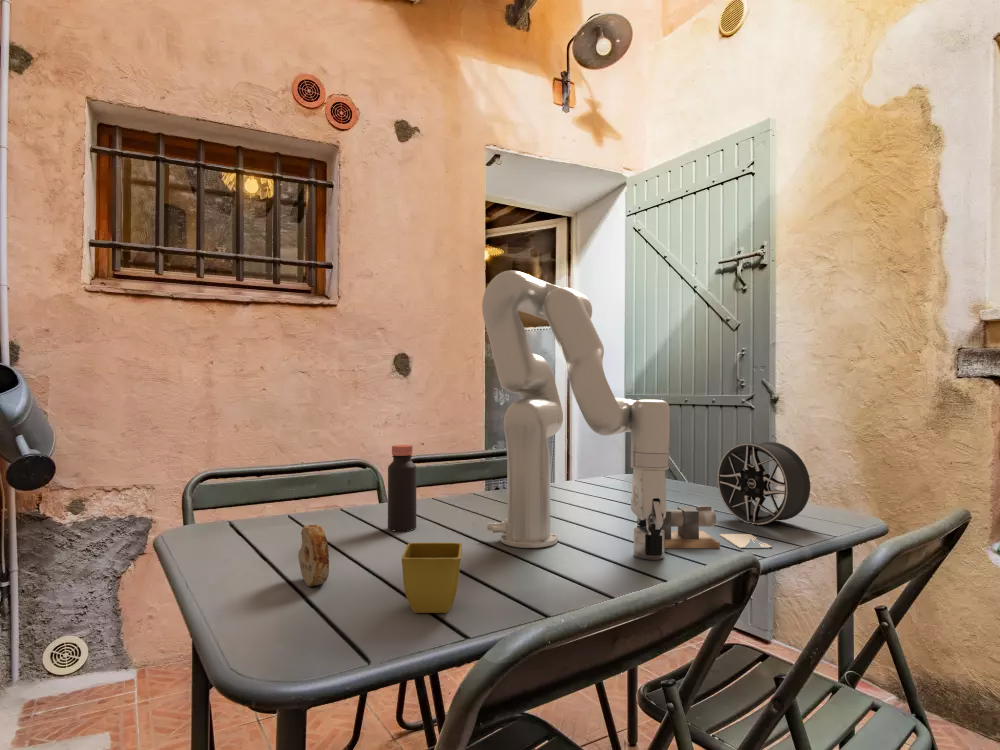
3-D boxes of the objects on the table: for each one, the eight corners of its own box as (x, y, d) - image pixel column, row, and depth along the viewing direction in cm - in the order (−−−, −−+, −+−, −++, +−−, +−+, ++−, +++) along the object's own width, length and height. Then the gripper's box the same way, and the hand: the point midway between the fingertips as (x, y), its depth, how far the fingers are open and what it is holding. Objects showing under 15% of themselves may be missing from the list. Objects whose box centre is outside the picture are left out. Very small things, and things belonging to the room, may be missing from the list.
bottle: (411, 532, 138) (411, 447, 138) (383, 531, 139) (383, 446, 139) (419, 526, 144) (419, 444, 145) (393, 525, 145) (393, 444, 146)
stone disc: (333, 589, 99) (333, 530, 99) (310, 593, 97) (310, 533, 97) (318, 573, 108) (318, 518, 108) (297, 576, 106) (297, 520, 106)
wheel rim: (717, 516, 154) (716, 440, 155) (740, 512, 159) (739, 438, 159) (788, 532, 137) (787, 446, 138) (811, 527, 142) (810, 444, 142)
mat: (739, 548, 124) (739, 547, 124) (719, 535, 134) (719, 534, 135) (772, 548, 124) (772, 547, 124) (750, 535, 135) (750, 534, 135)
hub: (637, 559, 115) (637, 533, 115) (630, 550, 121) (630, 526, 121) (668, 559, 115) (668, 534, 115) (659, 551, 121) (659, 526, 121)
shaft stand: (653, 548, 124) (653, 511, 124) (641, 536, 134) (641, 502, 134) (721, 548, 124) (721, 511, 124) (705, 536, 134) (704, 501, 134)
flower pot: (462, 597, 95) (462, 541, 95) (460, 618, 86) (460, 557, 87) (408, 598, 95) (408, 542, 95) (400, 619, 86) (400, 558, 86)
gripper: (622, 455, 127) (621, 538, 127) (642, 466, 110) (640, 563, 109) (656, 455, 127) (655, 539, 127) (682, 467, 110) (681, 563, 110)
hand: (649, 549), depth 118 cm, fingers closed on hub, 6 cm apart
